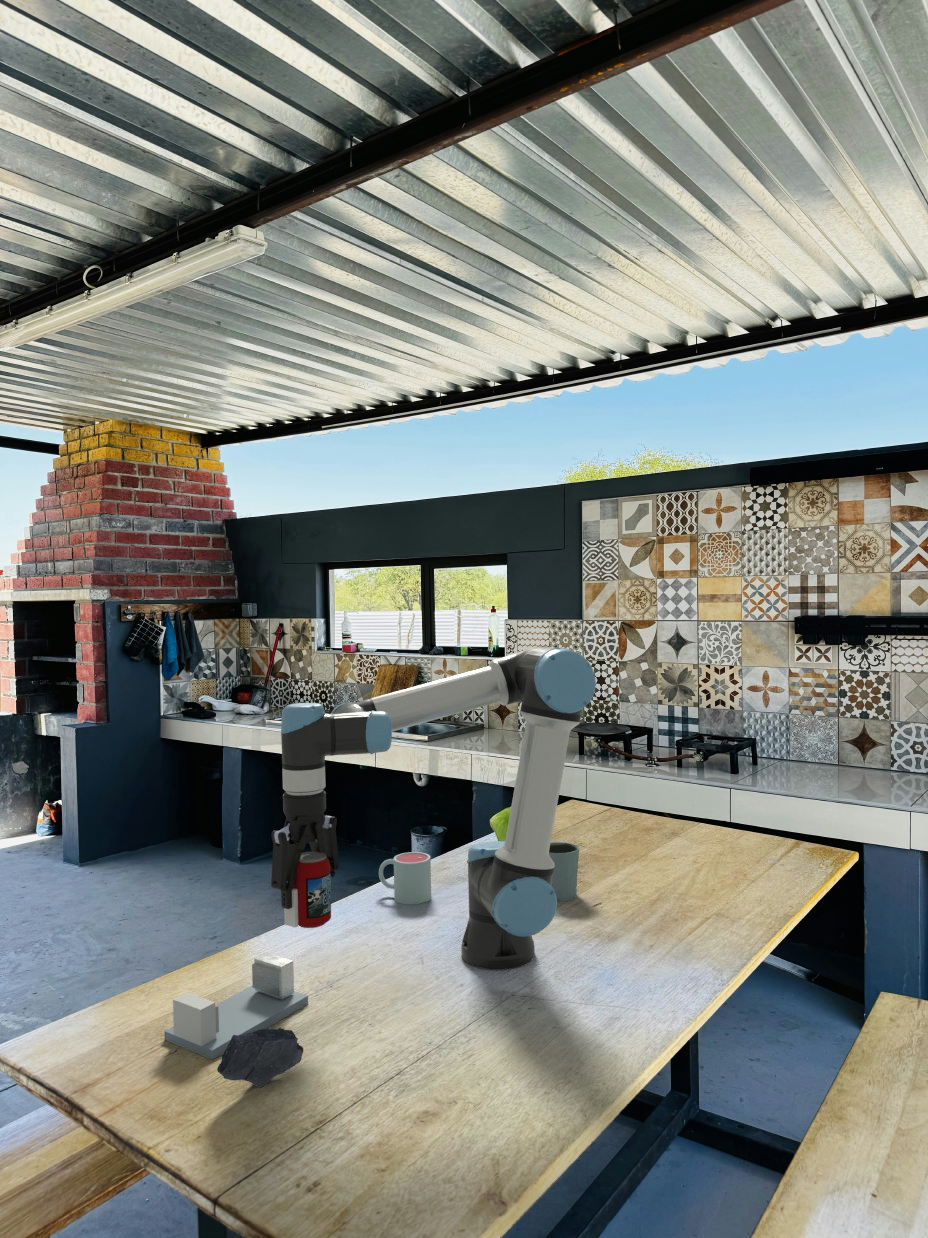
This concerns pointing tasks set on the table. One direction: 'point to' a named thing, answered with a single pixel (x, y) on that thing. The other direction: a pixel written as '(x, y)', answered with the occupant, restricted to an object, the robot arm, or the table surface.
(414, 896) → the mug
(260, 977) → the block
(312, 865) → the beverage can
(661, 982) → the table surface
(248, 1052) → the stone
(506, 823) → the lettuce
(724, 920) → the table surface
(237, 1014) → the vise bed
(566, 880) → the grey-green cup
